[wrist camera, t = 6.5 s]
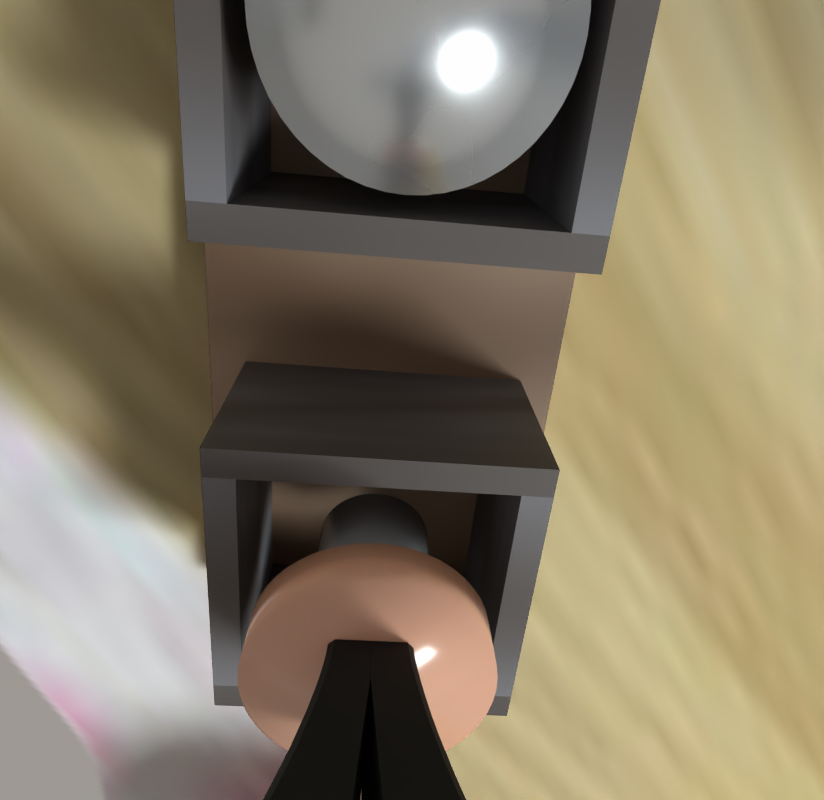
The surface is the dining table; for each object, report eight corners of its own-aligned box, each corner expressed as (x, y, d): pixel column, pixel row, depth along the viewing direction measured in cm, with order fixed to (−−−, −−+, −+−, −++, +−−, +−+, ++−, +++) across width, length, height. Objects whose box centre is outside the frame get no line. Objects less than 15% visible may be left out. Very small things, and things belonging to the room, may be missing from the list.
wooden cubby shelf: (196, -246, 11) (68, -465, 7) (649, -188, 12) (808, -355, 7) (229, 576, 19) (179, 729, 14) (502, 589, 20) (535, 741, 15)
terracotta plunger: (274, 447, 14) (233, 576, 10) (483, 460, 14) (515, 590, 10) (275, 608, 16) (240, 766, 12) (459, 617, 16) (479, 773, 12)
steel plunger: (290, -127, 11) (240, -232, 7) (550, -97, 11) (626, -183, 8) (287, 154, 13) (248, 180, 9) (511, 174, 13) (557, 208, 9)
